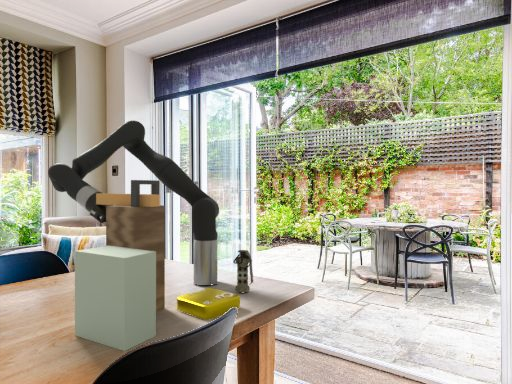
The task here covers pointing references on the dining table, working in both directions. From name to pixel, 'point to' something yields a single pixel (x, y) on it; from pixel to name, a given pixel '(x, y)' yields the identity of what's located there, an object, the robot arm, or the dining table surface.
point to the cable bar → (127, 199)
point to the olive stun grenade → (243, 271)
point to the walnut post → (140, 236)
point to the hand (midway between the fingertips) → (128, 225)
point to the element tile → (207, 303)
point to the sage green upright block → (115, 295)
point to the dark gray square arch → (136, 190)
